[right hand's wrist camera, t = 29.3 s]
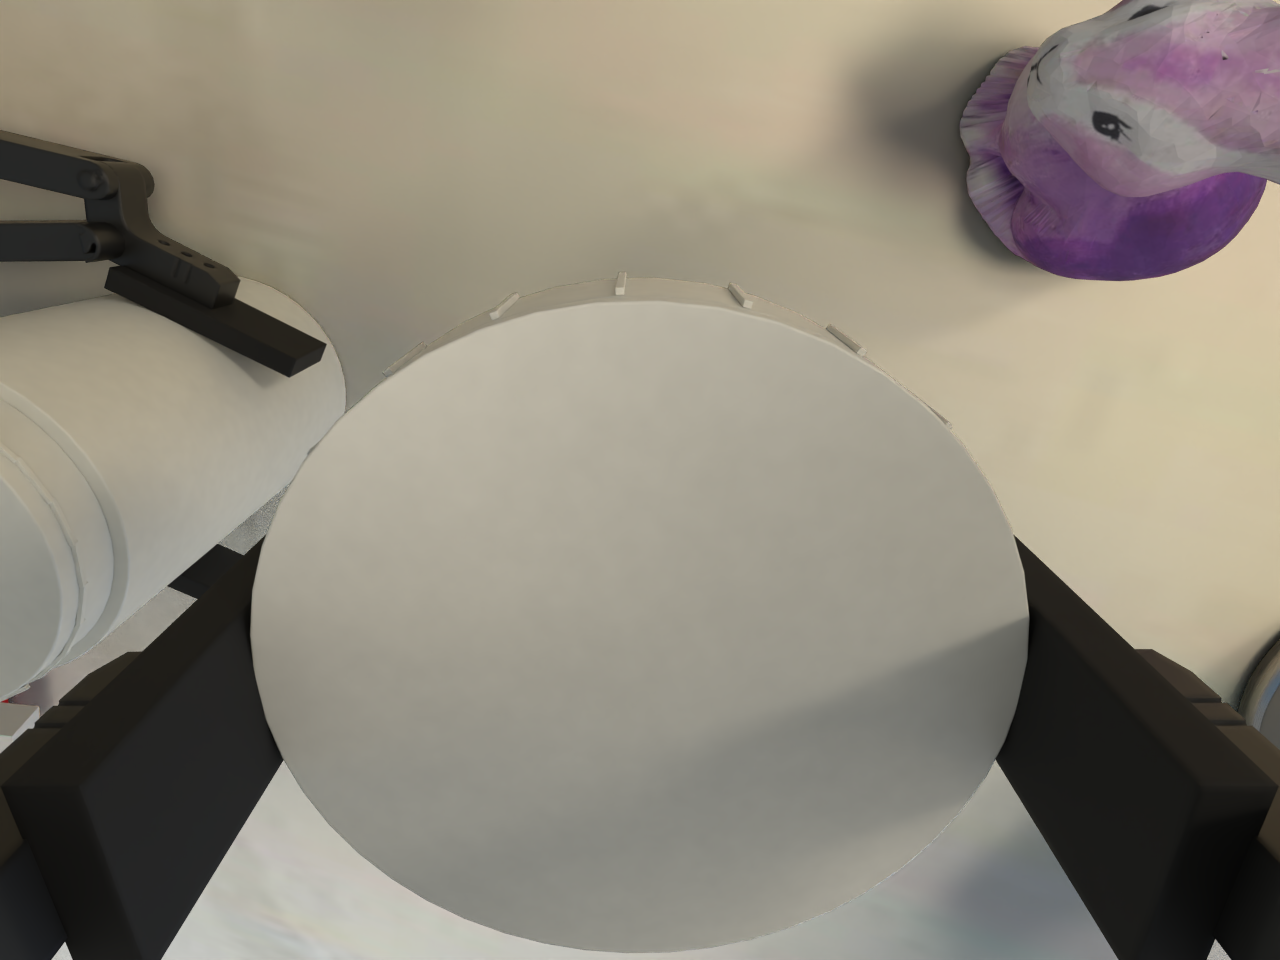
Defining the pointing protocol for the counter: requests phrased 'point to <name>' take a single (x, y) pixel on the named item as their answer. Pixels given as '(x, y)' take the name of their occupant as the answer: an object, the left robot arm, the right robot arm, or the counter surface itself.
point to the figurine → (1130, 137)
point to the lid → (639, 619)
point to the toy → (15, 721)
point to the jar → (133, 461)
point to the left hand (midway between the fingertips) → (265, 475)
